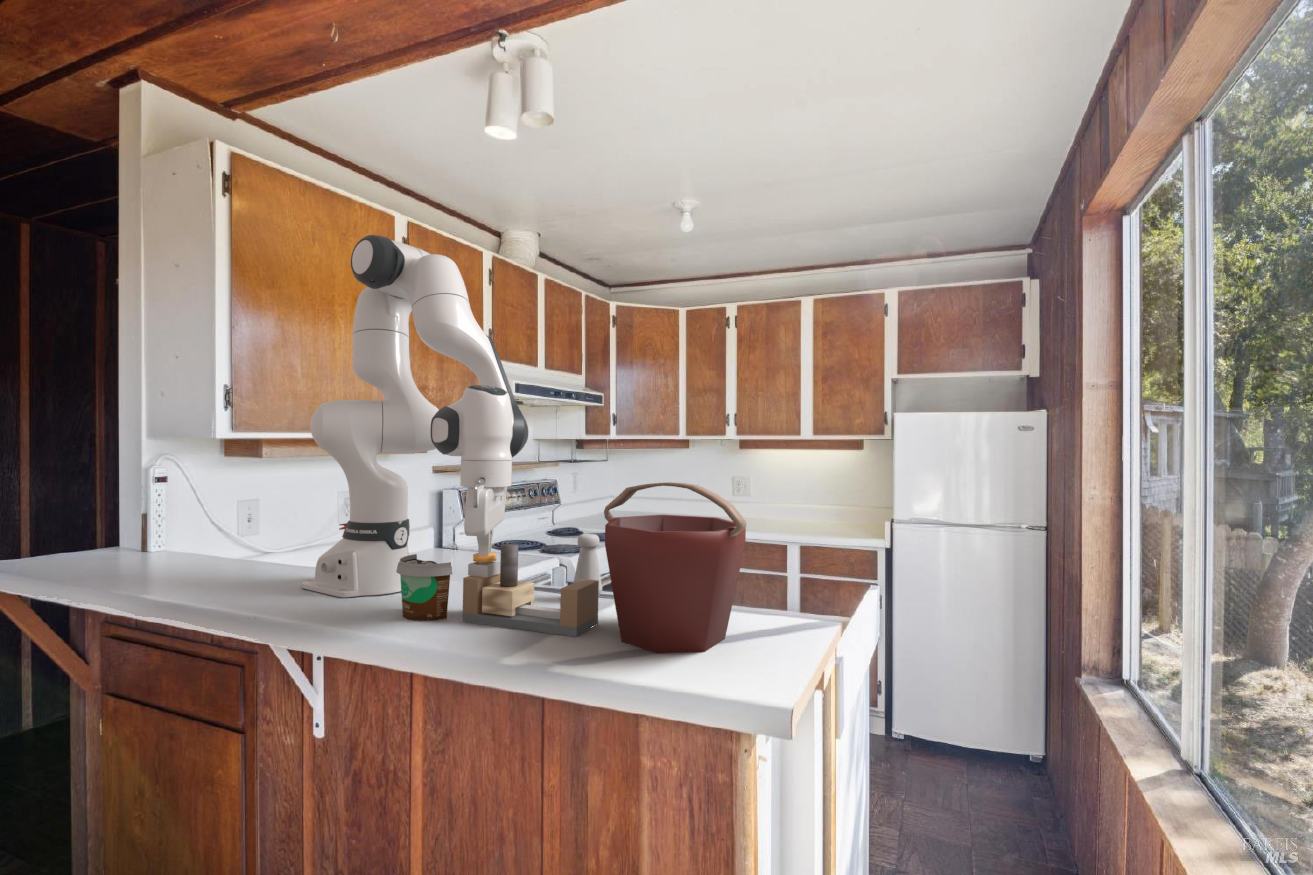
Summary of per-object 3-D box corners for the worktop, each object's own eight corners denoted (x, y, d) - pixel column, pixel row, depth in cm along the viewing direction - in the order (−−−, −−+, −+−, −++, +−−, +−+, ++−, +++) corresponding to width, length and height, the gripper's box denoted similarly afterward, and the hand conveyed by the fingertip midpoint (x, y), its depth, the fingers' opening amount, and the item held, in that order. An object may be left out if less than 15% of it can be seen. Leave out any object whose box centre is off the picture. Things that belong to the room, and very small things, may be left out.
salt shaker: (597, 604, 125) (598, 537, 125) (568, 602, 126) (569, 535, 126) (605, 597, 131) (606, 533, 131) (578, 595, 132) (579, 531, 132)
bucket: (572, 633, 106) (574, 481, 106) (662, 609, 123) (664, 476, 123) (686, 671, 90) (690, 491, 90) (773, 637, 106) (776, 484, 106)
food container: (382, 613, 116) (383, 557, 116) (413, 607, 121) (415, 553, 121) (418, 627, 108) (420, 567, 108) (451, 620, 113) (452, 562, 113)
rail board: (460, 620, 112) (461, 565, 112) (487, 609, 120) (488, 558, 120) (576, 636, 105) (577, 577, 105) (597, 624, 112) (598, 568, 112)
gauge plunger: (468, 572, 114) (468, 555, 114) (481, 568, 118) (482, 551, 118) (487, 574, 113) (487, 557, 113) (500, 570, 117) (500, 553, 117)
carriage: (481, 612, 111) (483, 547, 111) (505, 602, 118) (506, 541, 118) (511, 616, 109) (513, 549, 109) (533, 606, 116) (535, 543, 116)
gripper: (495, 480, 105) (493, 565, 105) (511, 473, 126) (510, 545, 126) (455, 480, 105) (453, 565, 105) (478, 473, 125) (477, 545, 125)
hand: (484, 554), depth 115 cm, fingers closed, pressing on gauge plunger
